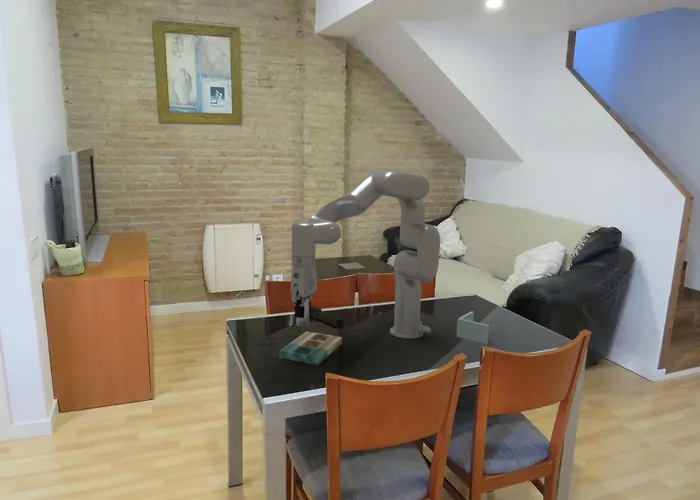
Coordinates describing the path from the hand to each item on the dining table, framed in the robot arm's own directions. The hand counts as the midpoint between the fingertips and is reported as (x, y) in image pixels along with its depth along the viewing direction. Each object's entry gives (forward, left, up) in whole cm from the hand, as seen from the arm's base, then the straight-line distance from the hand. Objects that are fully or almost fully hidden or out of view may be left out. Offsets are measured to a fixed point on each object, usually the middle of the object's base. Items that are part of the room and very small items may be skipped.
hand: (302, 314), depth 171 cm
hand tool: (+9, -35, -15) cm, 39 cm away
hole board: (0, -7, -15) cm, 16 cm away
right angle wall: (-50, -45, -16) cm, 70 cm away
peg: (0, 0, -3) cm, 3 cm away
